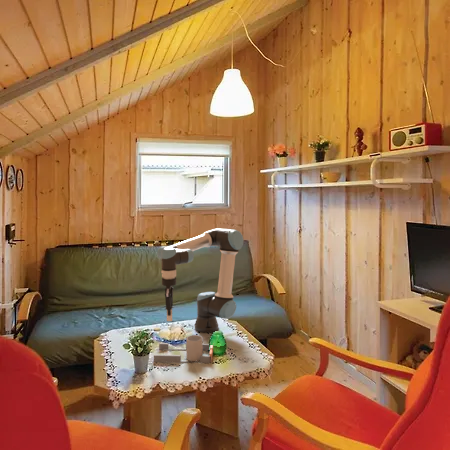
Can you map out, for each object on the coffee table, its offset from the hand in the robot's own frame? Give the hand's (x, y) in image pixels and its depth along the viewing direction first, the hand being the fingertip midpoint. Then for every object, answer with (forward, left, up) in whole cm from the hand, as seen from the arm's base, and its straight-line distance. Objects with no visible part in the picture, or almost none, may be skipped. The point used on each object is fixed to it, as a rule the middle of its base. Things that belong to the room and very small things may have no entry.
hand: (169, 320), depth 215 cm
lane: (-4, +7, -19) cm, 21 cm away
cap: (-11, +20, -14) cm, 27 cm away
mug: (-6, +12, -20) cm, 24 cm away
